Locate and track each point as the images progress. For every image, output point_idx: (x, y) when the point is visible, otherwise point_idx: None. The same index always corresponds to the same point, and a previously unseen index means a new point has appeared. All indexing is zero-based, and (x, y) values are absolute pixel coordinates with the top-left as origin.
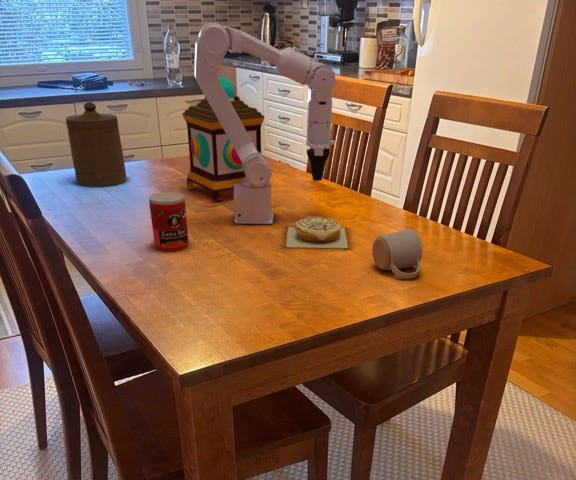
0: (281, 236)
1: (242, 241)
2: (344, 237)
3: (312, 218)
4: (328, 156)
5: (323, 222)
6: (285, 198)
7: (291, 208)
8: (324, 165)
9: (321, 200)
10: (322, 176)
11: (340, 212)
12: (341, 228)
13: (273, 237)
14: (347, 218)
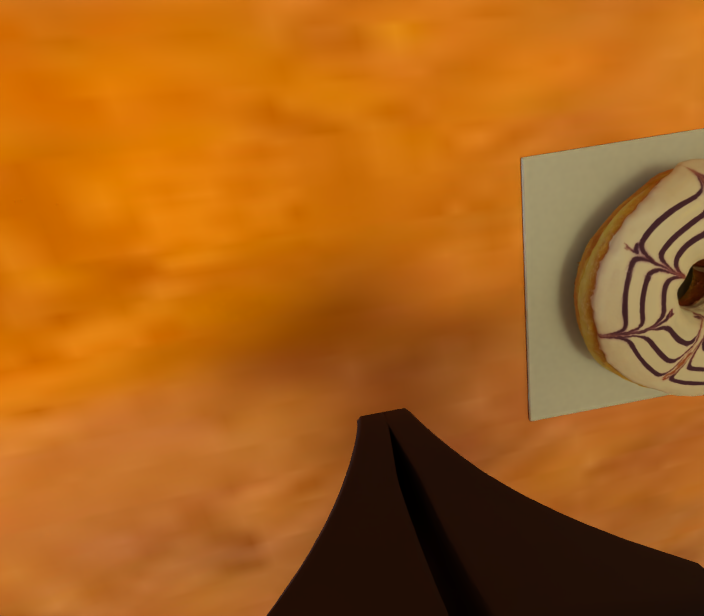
0: (633, 419)
1: (684, 526)
2: (666, 143)
3: (675, 329)
4: (691, 561)
5: (693, 263)
6: (72, 531)
7: (238, 468)
8: (504, 486)
9: (27, 356)
10: (416, 420)
11: (233, 215)
12: (532, 175)
13: (644, 443)
14: (337, 160)
